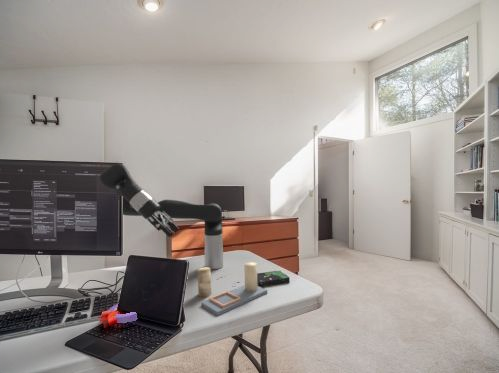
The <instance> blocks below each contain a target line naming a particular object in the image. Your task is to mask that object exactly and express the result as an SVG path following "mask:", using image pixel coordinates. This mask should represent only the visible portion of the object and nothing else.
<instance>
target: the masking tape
mask: <svg viewBox="0 0 499 373" xmlns="http://www.w3.org/2000/svg"><path fill="white" fill-rule="evenodd" d="M118 304H119V303H117V304H114V305H113V306H112V307H110V308H109V309H108V310H107V312H108V311H114V310H117V307H118ZM115 318H116V319H117V323H127V322H132V321H136V320H137V319H138V318H137V313H136V312H130V313H126V314H116V316H115Z"/></svg>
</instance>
